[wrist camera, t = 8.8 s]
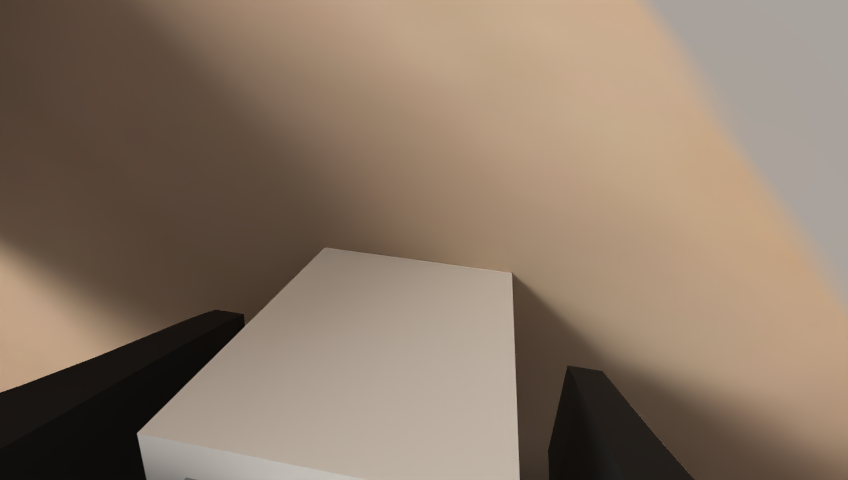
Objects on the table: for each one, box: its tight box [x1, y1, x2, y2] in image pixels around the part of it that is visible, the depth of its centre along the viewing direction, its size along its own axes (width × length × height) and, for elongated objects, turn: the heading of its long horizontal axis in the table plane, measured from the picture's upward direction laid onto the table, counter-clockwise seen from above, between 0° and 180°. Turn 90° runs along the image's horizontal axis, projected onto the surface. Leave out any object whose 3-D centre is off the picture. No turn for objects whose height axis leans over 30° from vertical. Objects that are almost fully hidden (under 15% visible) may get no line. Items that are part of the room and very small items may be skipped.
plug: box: [137, 248, 520, 480], centre depth 7 cm, size 4×4×6 cm
